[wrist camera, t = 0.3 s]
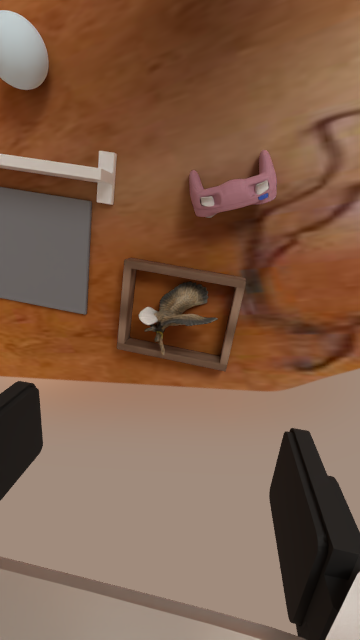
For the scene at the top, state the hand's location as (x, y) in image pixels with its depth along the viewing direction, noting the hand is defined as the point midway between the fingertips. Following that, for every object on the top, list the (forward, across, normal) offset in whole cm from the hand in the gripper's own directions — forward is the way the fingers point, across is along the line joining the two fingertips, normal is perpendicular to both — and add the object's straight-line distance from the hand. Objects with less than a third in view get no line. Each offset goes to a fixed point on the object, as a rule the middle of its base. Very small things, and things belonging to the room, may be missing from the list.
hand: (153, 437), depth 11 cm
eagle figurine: (+31, +3, +4) cm, 31 cm away
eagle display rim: (+31, +3, +4) cm, 31 cm away
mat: (+31, +25, -2) cm, 40 cm away
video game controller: (+31, -2, -12) cm, 33 cm away
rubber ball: (+31, +24, -24) cm, 45 cm away
